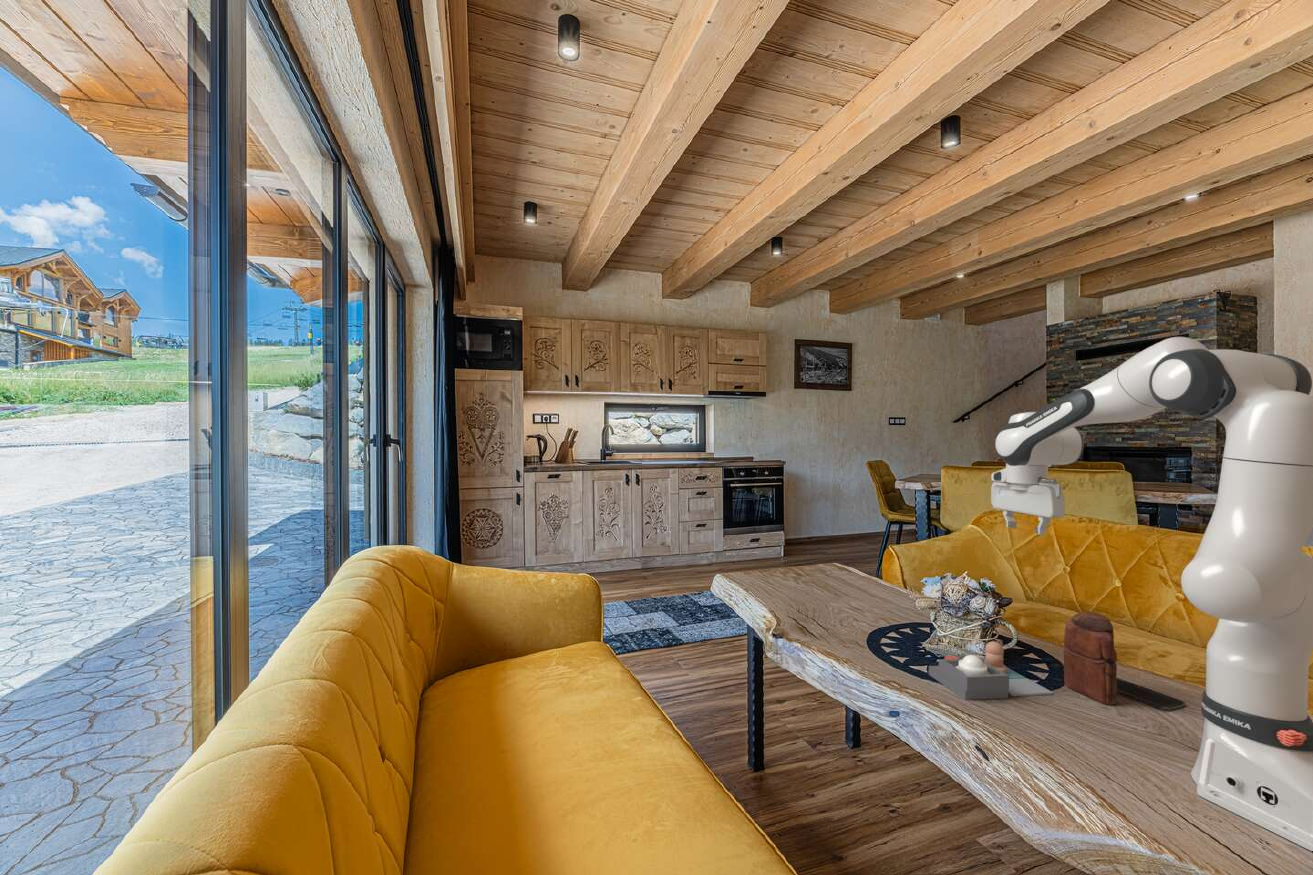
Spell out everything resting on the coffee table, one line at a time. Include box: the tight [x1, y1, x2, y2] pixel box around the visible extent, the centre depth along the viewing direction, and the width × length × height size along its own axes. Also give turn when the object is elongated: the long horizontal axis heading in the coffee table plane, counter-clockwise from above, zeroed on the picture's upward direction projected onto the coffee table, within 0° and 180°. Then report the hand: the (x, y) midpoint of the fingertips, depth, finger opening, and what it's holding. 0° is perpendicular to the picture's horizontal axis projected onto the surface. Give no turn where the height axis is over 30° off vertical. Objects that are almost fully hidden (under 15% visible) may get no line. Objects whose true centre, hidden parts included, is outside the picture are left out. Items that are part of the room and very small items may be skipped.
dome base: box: [928, 655, 1009, 701], centre depth 127 cm, size 13×10×5 cm
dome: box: [956, 654, 990, 675], centre depth 125 cm, size 7×7×5 cm
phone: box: [1117, 677, 1186, 713], centre depth 125 cm, size 8×1×15 cm
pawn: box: [983, 640, 1007, 674], centre depth 135 cm, size 5×5×7 cm
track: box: [1006, 666, 1055, 697], centre depth 131 cm, size 16×10×1 cm, turn 7°
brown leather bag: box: [1063, 611, 1118, 706], centre depth 125 cm, size 12×6×18 cm, turn 13°
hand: (1025, 531), depth 141 cm, fingers open, 8 cm apart
